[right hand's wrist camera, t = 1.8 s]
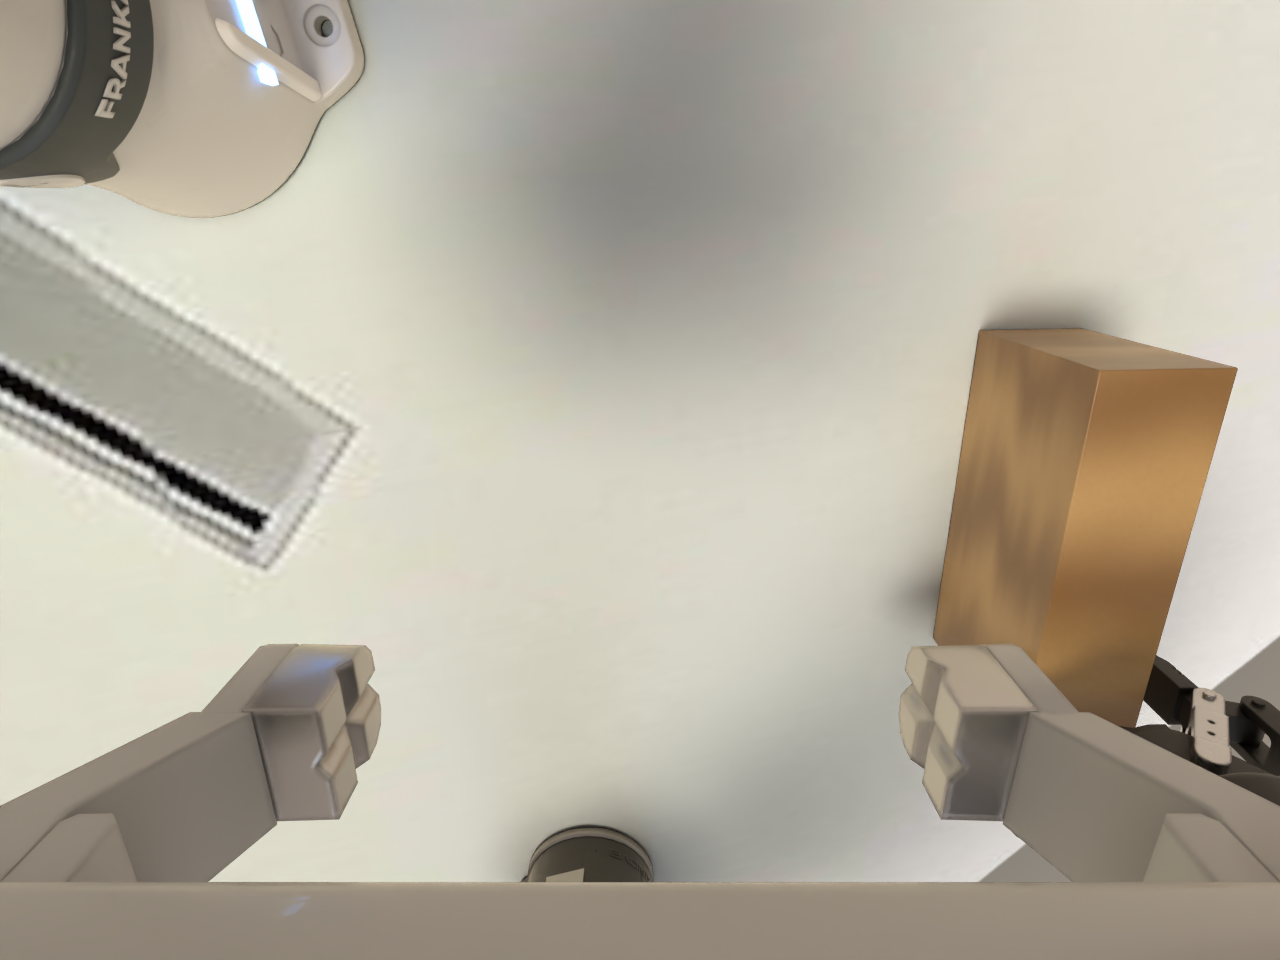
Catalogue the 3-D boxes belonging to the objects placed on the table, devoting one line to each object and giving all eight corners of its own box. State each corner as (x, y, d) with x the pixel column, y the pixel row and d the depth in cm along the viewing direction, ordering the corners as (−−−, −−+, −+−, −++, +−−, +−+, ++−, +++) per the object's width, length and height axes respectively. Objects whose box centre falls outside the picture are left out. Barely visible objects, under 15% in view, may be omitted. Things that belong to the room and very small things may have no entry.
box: (978, 330, 39) (1099, 370, 29) (1082, 328, 39) (1239, 367, 29) (932, 637, 46) (1016, 757, 36) (1019, 636, 46) (1128, 755, 36)
